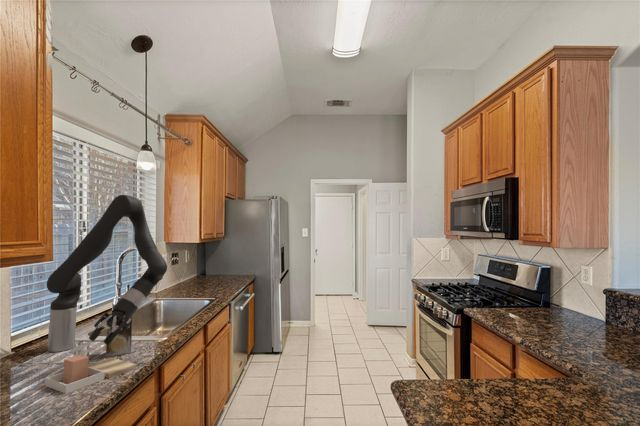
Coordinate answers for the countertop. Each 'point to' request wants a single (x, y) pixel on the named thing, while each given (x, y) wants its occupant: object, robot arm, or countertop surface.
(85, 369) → the terracotta block
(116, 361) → the maple board
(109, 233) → the robot arm
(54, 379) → the square frame
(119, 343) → the coffee box
